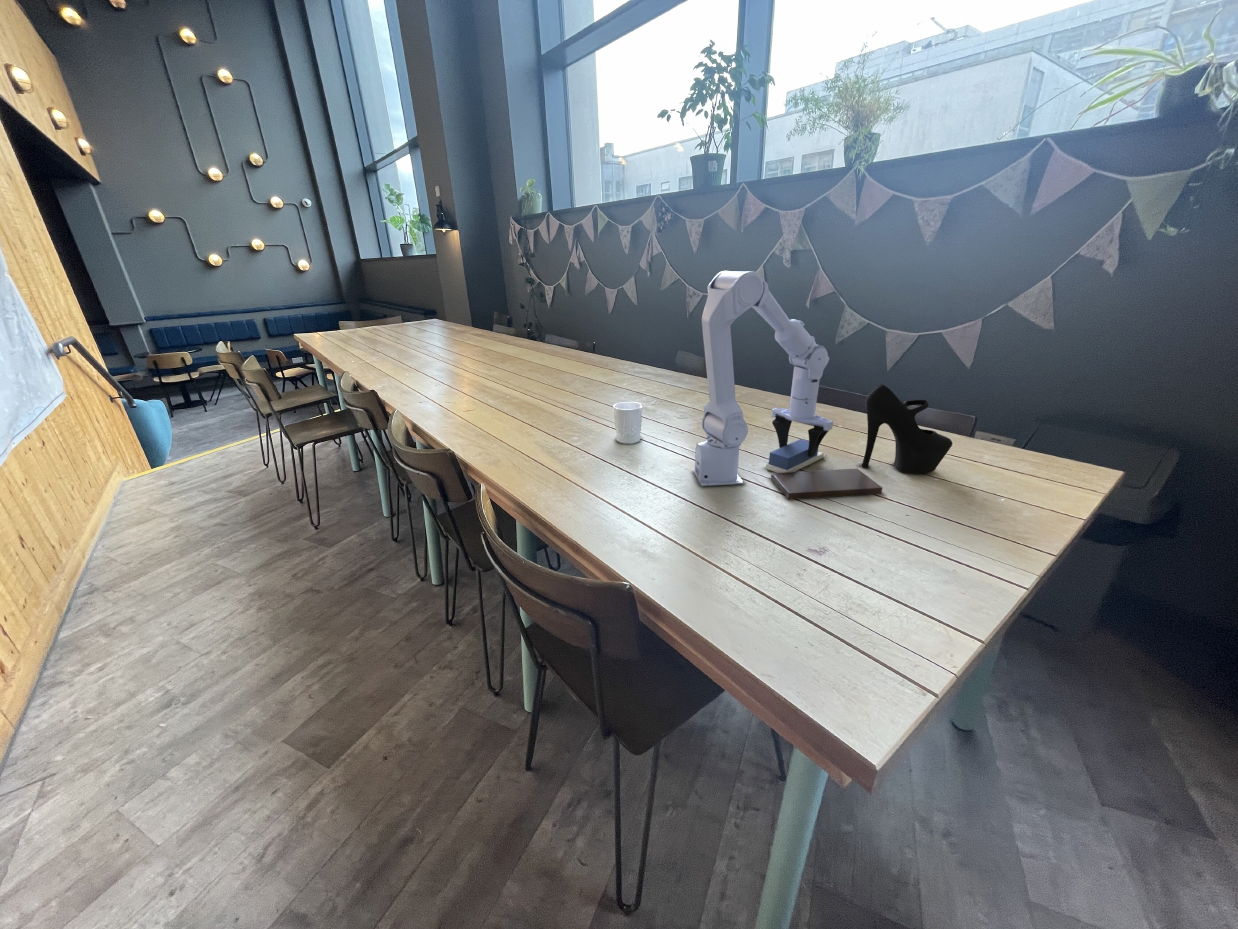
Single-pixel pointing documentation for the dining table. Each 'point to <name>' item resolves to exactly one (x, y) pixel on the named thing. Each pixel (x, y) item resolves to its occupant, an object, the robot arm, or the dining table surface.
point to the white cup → (628, 421)
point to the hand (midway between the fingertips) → (796, 451)
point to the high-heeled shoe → (904, 432)
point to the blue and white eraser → (792, 457)
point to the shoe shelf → (825, 483)
